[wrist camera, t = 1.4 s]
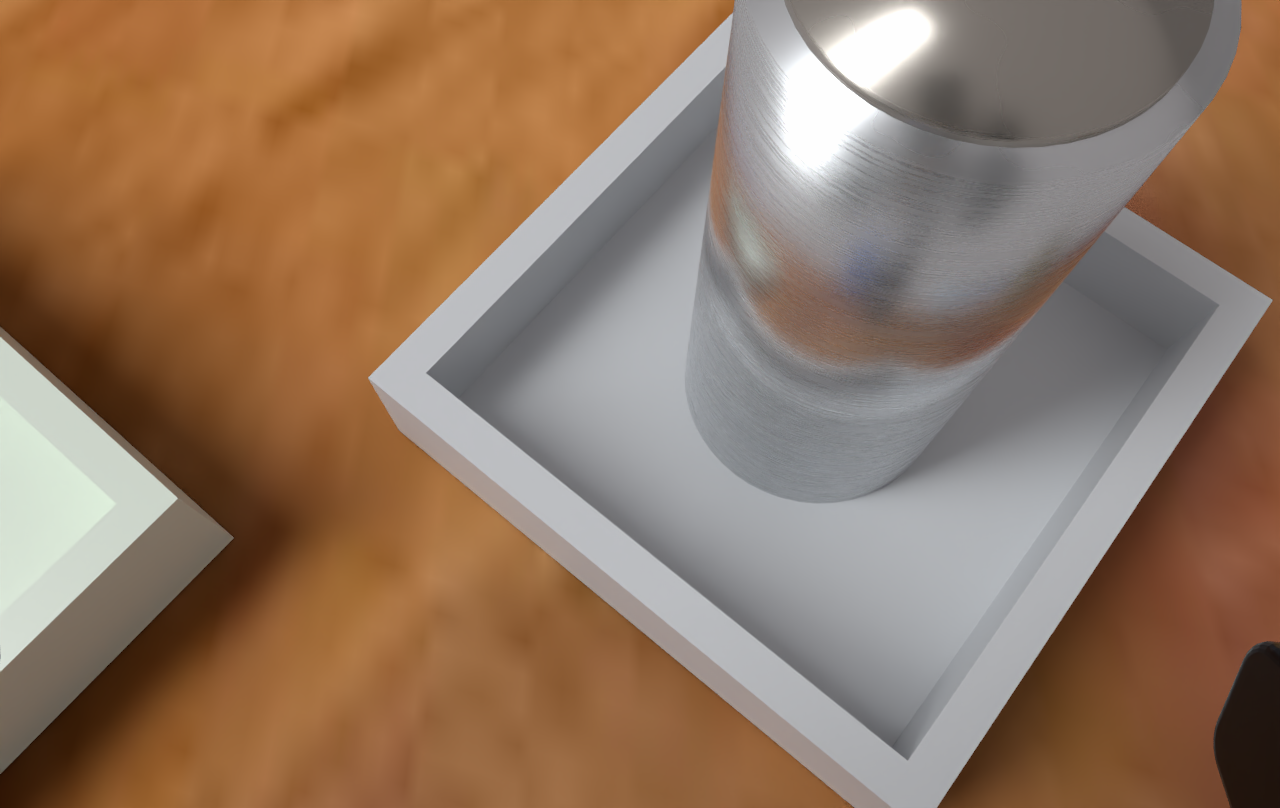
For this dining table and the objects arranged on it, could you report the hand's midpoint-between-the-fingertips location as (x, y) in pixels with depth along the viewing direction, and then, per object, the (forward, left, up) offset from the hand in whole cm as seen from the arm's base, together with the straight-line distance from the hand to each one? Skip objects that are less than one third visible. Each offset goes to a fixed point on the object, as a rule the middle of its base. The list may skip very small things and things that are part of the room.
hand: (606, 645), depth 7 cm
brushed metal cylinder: (+2, -9, -14) cm, 16 cm away
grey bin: (+2, -9, -14) cm, 17 cm away
